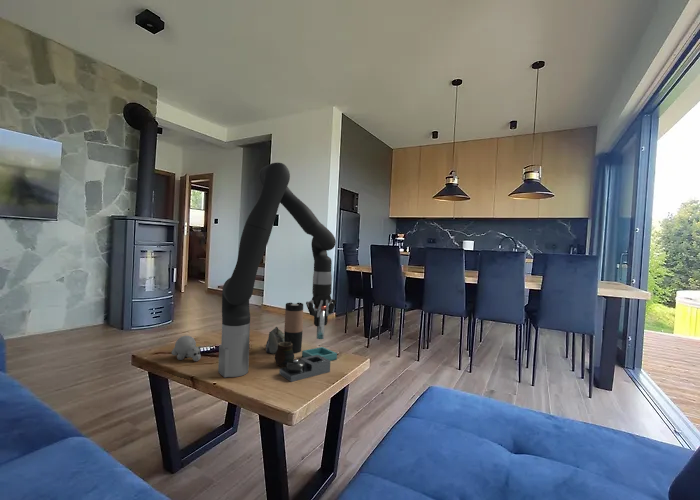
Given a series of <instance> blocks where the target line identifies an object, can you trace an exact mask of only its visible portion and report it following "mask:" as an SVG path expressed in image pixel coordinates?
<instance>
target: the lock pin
mask: <svg viewBox="0 0 700 500" xmlns="http://www.w3.org/2000/svg"><path fill="white" fill-rule="evenodd" d="M316 309H318V308H317V307H316ZM325 309H326V306H321V311H320V315H319V317H320V320H319V326H318V327H317V326H316V339H317V340H324V339H325V326H326V325H325Z"/></svg>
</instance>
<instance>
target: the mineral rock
mask: <svg viewBox="0 0 700 500" xmlns="http://www.w3.org/2000/svg"><path fill="white" fill-rule="evenodd" d="M280 342H284V332H283V331H282V330H281V329H279V327H278V326H275V328H273V329H272V330H271V331H269V333H268V338H267V341H266V344H265V352H266V353H267V354H272V355H273V354H274V355H275V353H276V351H277V349H278V343H280Z"/></svg>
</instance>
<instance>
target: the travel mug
mask: <svg viewBox="0 0 700 500" xmlns="http://www.w3.org/2000/svg"><path fill="white" fill-rule="evenodd" d="M284 310H285V311H284V312H285V313H284V332H283V333H284V342H290V341H291V342H290V343H292V344H293V347H292V349H293V352H294V354H298V353H301V352H302V348H303V347H302V343H303V329H304V303H302V302H297V303H293V302H286V303H285V308H284Z"/></svg>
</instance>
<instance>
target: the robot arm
mask: <svg viewBox="0 0 700 500" xmlns="http://www.w3.org/2000/svg"><path fill="white" fill-rule="evenodd" d="M290 178H291V173H290V170H289V168H288V166H287V165H286V164H285V163H282V162H272V163H269V164H266V165H264V166H263V167H262V168H261V169H260V170H259V172H258V180H259V183H260V184H261V186H262V188H261V193H260V195H259V198H258V199H257V202H256V203H255V205H254V207H253V208H252V209H251V212H250V213H249V215H248V216H247V219H246V221H245V224H244V226H243V229H242V232H241V235H240V236H241V237H240V241H239V246H238V255H237V260H236V264H235V267H234V269H233V271H232V274H231V276H230V277H229V278H228V279H227V280H226V281H225V282H224V283H223V285H222V286H223V287H222V293H221V295H222V296H221V317H222V318H221V320H222V321H221V340H220V341H221V344H219V347H218V367H217V368H218V371H217V372H218V373H219V375H221V376H222V377H223V378H237V377H242V376H245V375H246V374H248V373H249V366H250V365H249V364H250V363H249V362H250V358H249V357H250V337H251V336H250V334H251V333H250V332H251V331H250V330H251V313H250V299H251V298H252V295H253V292H254V287H255V283H256V278H257V273H258V269H259V267H260V265H261V264H260V263H261V261H262V259H263V256H264V253H265V251H266V248H267V245H268V243H269V240H270V237H271V234H272V231H273V226H274V223H275V221H276V217H277V214H278V210H279V208H280V204H281V205H282V206H283V207H284V209H286V210H287V212H288V213H289V214H290V216H292V218H293V219H294V220H295V222H297V224H298V225H299V227H300V228H301V229H302V231H304V233H305V234H307V235H309V236H311V237H312V239H311V250H312V251H311V252H312V257H313V261H314V262H313V273H312V274H313V275H312V293H311V294H312V298H311V300H310V301H306V302H305V305H306V307H307V310H308V313H309V315H310V316H312V317H313V325H314V326H315V327H316V328H317V327H318V326H319V320H320V317H319V315H320V311H321V306H326V309H325V326H327V324H328V319H329V317H328V316H329V315H332V314H333V312H334V309H335V306H336V304H337V300H336V299H332V296H331V294H332V281H333V277H332V261H333V260H332V258H331V257H329V256H328V252H327V251H331V250H334V248H335V246H336V244H337V243H336V238H335V236H334V233H332V232H331V230H329V229H328V228H327V227H326V226H325V225H324V224H323V223H321V222H320V221H319V219H318V218H317V216H316V215H315V214H314V213H313V211H312V209H310V207H308V206H307V205H306V204H305V203H304V202H303V201H302V200H301V199H299V197H297V196H296V195H295V194H294V193H293V192H292V190H291V189H290V188H289V186H288V185H289V183H290ZM316 307H317V308H318V309H316Z"/></svg>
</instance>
